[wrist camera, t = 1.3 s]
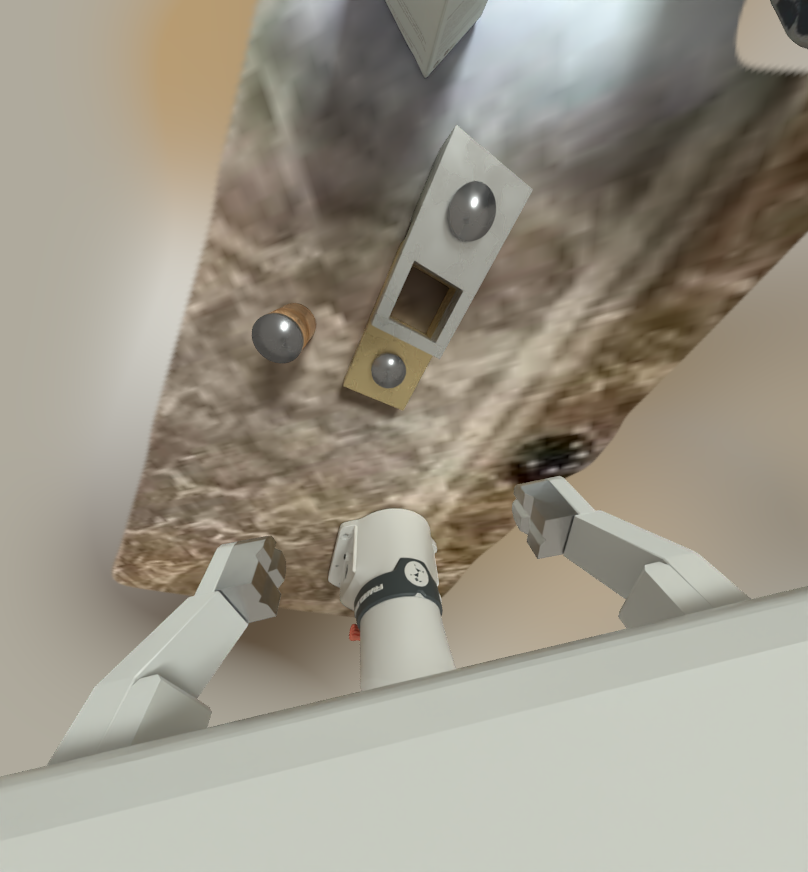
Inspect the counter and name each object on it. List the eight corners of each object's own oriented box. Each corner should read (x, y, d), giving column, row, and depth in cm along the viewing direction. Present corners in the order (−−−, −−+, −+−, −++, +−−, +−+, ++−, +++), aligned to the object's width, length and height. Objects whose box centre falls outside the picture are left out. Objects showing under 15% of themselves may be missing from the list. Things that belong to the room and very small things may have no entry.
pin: (309, 347, 33) (294, 370, 25) (273, 331, 32) (246, 351, 24) (320, 313, 32) (308, 327, 24) (283, 296, 30) (258, 304, 22)
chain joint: (400, 403, 38) (407, 423, 33) (344, 379, 36) (341, 397, 30) (506, 202, 29) (537, 187, 24) (439, 149, 26) (459, 120, 21)
